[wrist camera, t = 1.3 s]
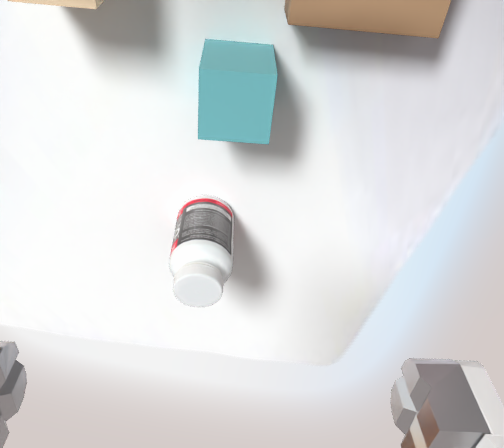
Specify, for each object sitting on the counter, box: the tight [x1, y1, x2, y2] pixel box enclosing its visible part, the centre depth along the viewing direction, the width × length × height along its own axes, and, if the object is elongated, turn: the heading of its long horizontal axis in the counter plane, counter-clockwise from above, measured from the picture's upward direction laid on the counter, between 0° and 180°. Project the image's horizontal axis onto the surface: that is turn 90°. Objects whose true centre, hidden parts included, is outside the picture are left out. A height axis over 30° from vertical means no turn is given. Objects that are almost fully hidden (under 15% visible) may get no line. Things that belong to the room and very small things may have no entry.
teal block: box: [198, 39, 278, 144], centre depth 33 cm, size 5×5×6 cm
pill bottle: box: [169, 195, 234, 307], centre depth 40 cm, size 5×5×10 cm
